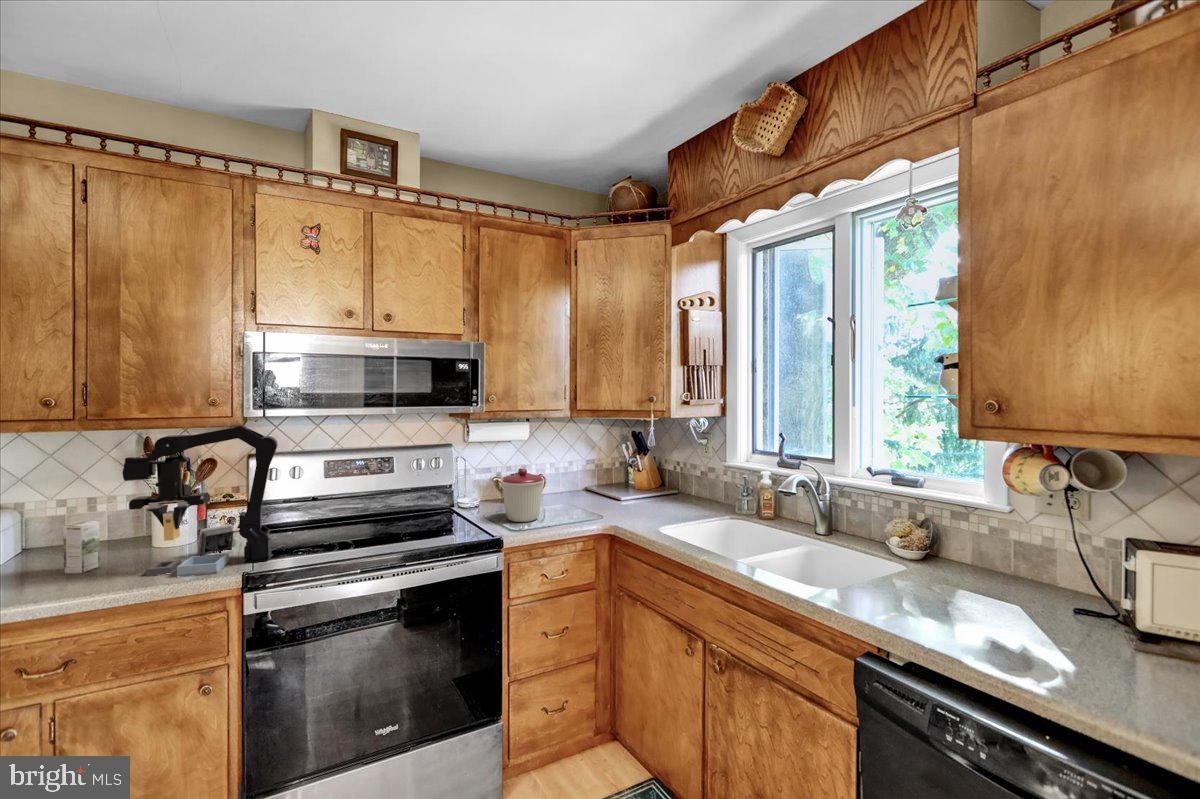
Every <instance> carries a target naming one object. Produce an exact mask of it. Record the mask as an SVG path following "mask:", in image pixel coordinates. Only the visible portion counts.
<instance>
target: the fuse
mask: <svg viewBox="0 0 1200 799" xmlns="http://www.w3.org/2000/svg"><path fill="white" fill-rule="evenodd" d="M163 524H164V528H163V541H164V542H165V541H167V542H168V541H175V540H176V539H178V538H180V537H181V535H180V534H181V533H180V526H179V528H178V529H176V528H175V521H174V510H167V512H166V513H164V514H163Z"/></svg>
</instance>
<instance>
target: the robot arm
mask: <svg viewBox="0 0 1200 799" xmlns="http://www.w3.org/2000/svg"><path fill="white" fill-rule="evenodd" d="M235 439H238V440H240V441H242V442H244V443H246V444H248V446H251V447H252V448H254V449H255V470H254V475H253V480H252V486H251V489H250V490H251V492H250V495H249V500H248V506H247V509H246V511H241V512H240V514H239V521H238V525H237V527H236V529H239V530H238V532H239V535H240V536H241V537H242V538H244V539H246V541H245V546H244V547H243V554H244V556H243V558H244V563H245V564H249V563H250V564H251V563H259V562H260V563H261V562H267V561H269V560H270V559H271V558H272V557H273V556H274V554H273V553H272V538H271V537H269V535H270V532H271V530H270V529H269V528H268V527H266V526H265V525H264V524H263V508H262V507H263V503H264V501H263V500H264V497H265V496H264V495H265V491H266V486H267V485H266V484H267V482H268V476H269V471H270V465H271V463H272V461H273V458H274V455H275V453H276V452H277V449H278V446H279V444H278V441H277V439H276V438H275V437H273V436H269V435H266V436H265V435H263V434H261V433H259V432H257V431H255V430H252V429H250V428H249V427H247V426H246V425H243V424H238V425H236V426H233V427H226V428H222V429H221V428H220V429H216V430H211V431H206V432H200V433H195V434H172V435H171V434H169V435H165V436H163V437H159V438H158V439H157V440H156V441H155V442H154V445H153V448H154V449H153V450H152V451H151V453H149V454H148V455H147V456H141V457H134V456H133V457H132V456H130V457H126V458H124V464H123V469H122V478H123V481H124V482H130V481H143V480H151V478H152V476H155V475H157V476H156V477H157V482H155V488H156V487H157V496H156V498H155V497H154V496H153V495H147V496H146V495H144V496H137V497H134V498H132V499H131V500H130V501H128V510H141V509H143V508H144V507H145V506H148V509H147V512H151V513H152V514H153V516H154V517H156V519H157V520H158V522H159V523H160V524H161V526H162V528H163V529H164V524H163V514H164V513H166V512H168V507H169V505H171V504H172V505H173V504H174V505H175V504H177V506H176V507H173V511H174V521H175V528H176V529H178V528H179V527H180V525H181V523H182V519H183V517H184V515H185V513H186V511H187V509H188V508H190V507H193V506H203V505H205V504H207V503H209V502H211V495H210V493H209V492H206V491H205V492H195V493H192V494H191V490H192V485H189V484H186V483H185V480H184V478H182V477H183V476H182V463H187V462H189V461H190V458H189V457H187V456H185V455H184V453H182V452H185V451H187V450H191V449H192V448H195V447H200V446H205V445H206V446H207V445H211V444H217V443H221V442H226V441H230V440H235ZM179 453H180V454H179ZM175 454H176V455H177V454H179V455H178V456H173V455H175ZM163 457H165V459H164V460H159V459H161V458H163Z"/></svg>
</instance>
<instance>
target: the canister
mask: <svg viewBox="0 0 1200 799" xmlns="http://www.w3.org/2000/svg"><path fill="white" fill-rule="evenodd" d="M517 472H518V473H517V474H509V475H506V476H505V477H503V478H501V480H500V483H501V484H502V485H501V486H502V493H503V501H504V508H505V515H506V517H507V519H508V520H509V521H511V522H515V523H516V522H517V523H529V522H533V521H536V520H537V519H538V518H539V516H540V513H541V506H542V500H543V499H542V497H543V488H544V487H543V486H544V482H545V481H546V480H545V478H543V477H542V476H541V475H538V474H534V473H533V474H530V473H528V470H527V469H526V468H520V469H519V470H518V471H517Z"/></svg>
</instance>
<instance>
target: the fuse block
mask: <svg viewBox="0 0 1200 799" xmlns="http://www.w3.org/2000/svg"><path fill="white" fill-rule="evenodd" d="M180 564H182V560H181V559H177V560H165V561H156V562H155V563H153V564H152V565H151V566H149V567H148V568H146V569H145V571H146V572H145V574H146V577H151V576H150V575H154V576H159V575H158V574H166V573H171V572H173V571H174V570H176V569H177V566H179V565H180ZM176 571H177V570H176ZM174 572H175V571H174ZM174 572H173V573H174ZM171 574H172V573H171ZM166 575H167V574H166Z"/></svg>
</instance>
